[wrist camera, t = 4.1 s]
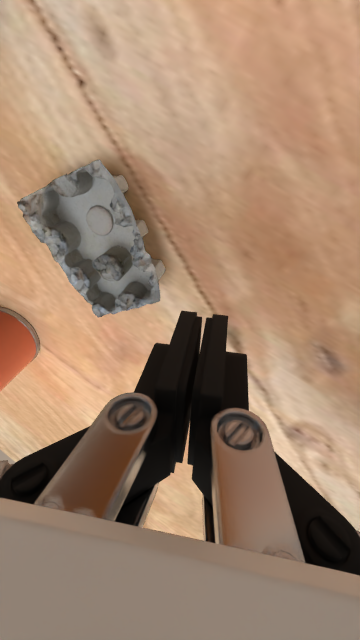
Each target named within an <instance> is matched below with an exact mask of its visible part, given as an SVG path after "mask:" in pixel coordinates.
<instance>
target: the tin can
mask: <svg viewBox="0 0 360 640" xmlns="http://www.w3.org/2000/svg"><path fill="white" fill-rule="evenodd" d="M39 350H40V343H39V338H38V336H37V334H36V332H35V330H34V329H33V327H32V326H31V325H30V324H29V322H28V321H27V320H25V319H24V318H23V317H22V316H20V315H19V314H17V313H16V312H14V311H11V310H9V309H6V308H1V307H0V391H1V390H2V389H3V388H4V387H5V386H6V385H7V384H8V383H9V382H10V381H11V380H12V379H13V378H14V377H15V376H16V375H17V374H18V373H19V372H21V371H22V370H23V369H24V368H25V367H26V366H27V365H28V364H29V363H30V362H31V361H32V360H33V359H34V358H35V357H36V356H37V355H38V353H39Z"/></svg>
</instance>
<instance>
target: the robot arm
mask: <svg viewBox="0 0 360 640" xmlns="http://www.w3.org/2000/svg"><path fill="white" fill-rule="evenodd" d="M227 325H228V316H225V315H216V314H213V317H212V318H206V323H205V328H204V334H203V339H202V344H201V349H200V339H201V326H202V317H198V316H197V312H188V311H181V314H180V316H179V319H178V322H177V325H176V328H175V331H174V333H173V336H172V339H171V342H170V345H169V344H161V343H156V344H155V345H154V347H153V349H152V352H151V354H150V356H149V358H148V361H147V363H146V365H145V368H144V370H143V372H142V375H141V377H140V379H139V382H138V384H137V386H136V389H135V391H134V393H125V394H122V395H119V396H117V397H115V398H113V399H112V400H110V401H109V402H108V404H107V405H106V406H105V407H104V408H103V410H102V411H101V412H100V414H99V415H98V417H97V418H96V419H95V421H94V422H93V423H92V425H91V426H90V427H87V428H85V429H83V430H81V431H79V432H77V433H75V434H73V435H71V436H68V437H66V438H64V439H62V440H60V441H58V442H56V443H54V444H51V445H49V446H47V447H45V448H43V449H41V450H39V451H37V452H35V453H32V454H30V455H28V456H26V457H24V458H23V459H21V460H19V461H18V462H16V463H15V464H9V463H8V461H7V460H6V461H0V640H360V532H359V531H356V530H355V529H354V527H353V526H352V525H351V524H350V523H349V522H348V521H347V519H346V518H345V517H344V516H342V515H341V514H340V513H339V512H338V511H337V510H336V509H335V508H334V507H333V506H332V505H331V504H330V503H329V502H328V501H326V500H325V499H324V498H323V497H322V496H321V495H320V494H319V493H318V492H317V491H316V490H315V489H314V488H313V487H312V486H310V485H309V484H308V483H307V482H306V481H305V480H304V479H303V478H302V477H301V476H300V475H299V474H298V473H297V472H296V471H294V470H293V469H292V468H291V467H290V466H289V465H288V464H287V463H286V462H285V461H284V460H283V459H282V458H281V457H279V456H278V455H277V454H276V453H275V452H274V449H273V446H272V442H271V438H270V435H269V431H268V429H267V427H266V425H265V423H264V422H263V421H262V420H261V419H260V417H258V416H257V415H255V414H254V413H252V412H250V411H249V403H248V376H247V355H246V354H241V353H233V352H226V340H227ZM199 353H200V354H199ZM189 423H190V433H189V448H188V464H190V465H193V473H192V480H193V481H194V483H195V484H196V485H197V487H198V488H199V489H200V491H201V492H202V493H203V496H202V509H203V535H204V541H202V540H197V539H193V538H188V537H183V536H179V535H174V534H170V533H165V532H160V531H156V530H151V529H146V528H142V527H143V525H144V522H145V520H146V517H147V515H148V512H149V510H150V507H151V505H152V502H153V500H154V497H155V495H156V492H157V489H158V485H159V482H160V481H162V480H163V479H165V478H166V477H168V476H169V475H170V473H174V469H175V464H176V462H179V463H182V461H183V456H184V451H185V445H186V440H187V434H188V429H189Z"/></svg>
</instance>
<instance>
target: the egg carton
mask: <svg viewBox="0 0 360 640" xmlns="http://www.w3.org/2000/svg"><path fill="white" fill-rule="evenodd" d="M127 190H128V184H127V181H126V180H125V178H124V177H123V176H122V175H118V176H114V175H111V174H110V172H109V171H108V170H107V169H106V168H105V167H104V165H103V164H102V163H101V161H100V160H96V161H94V162H92V163H90V164H88V165H86V166H85V167H81V168H79V169H77V170H75V171H73V172H71V173H70V174H68V175H67V174H66V175H63V176H61V177H59V178H57V179H55V180H53V181H52V182H51V183H50V184H48V185H47V186H46V187H44V188H42V189H40V190H38V191H36V192H34V193H32V194H30V195H28V196H26V197H24V198H22V199H21V200H20V202H17V204H18V207H19V208H20V210H22V212H23V217H24V219H25V220H26V222H27V223H28V224H29V225H30V227H31V229H32V232H33V233H34V234H35V235H36V237H37V238H38V239H39V240H40V242H42V243H46V244H47V246H48V247H49V249H50V251H51V253H52V256H53V258H54V260H55V261H56V262H58V263H59V264H60V266H61V267H62V269H63V271H64V272H65V273H66V275H67V277H68V280H69V282H70V283H71V284H72V285H73V286H74V288H75V289H76V290H77V291H78V292H79V293H80V294H81V295H82V296H83V297H84V299H85V300H86V301H87V302H88V303H90V304H91V305H92V311H93V313H94V314H95V315H96V316H97V317H102V316H103V315H106V314H109V313H111V314H115V313H118V312H120V311H125V310H126V311H127V310H130V309H134V308H139V307H141V306H144V305H146V304H153V303H156V302H159V301H160V290H159V284H158V280H159V279H160V278H161V276H162V275H163V274H164V272H165V267H164V265H163V263H162V261H161V260H154V259H152V258H151V256H150V254H148V253H147V252H146V251H145V248H144V243H143V237H144V236H145V235H146V234H147V233H148V229H147V226H146V224H145V222H144V221H143V220H135V218H134V215H133V213H132V210H131V207H130V206H129V204H128V202H127V200H126V199H125V197H124V193H125V192H126V191H127Z"/></svg>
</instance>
